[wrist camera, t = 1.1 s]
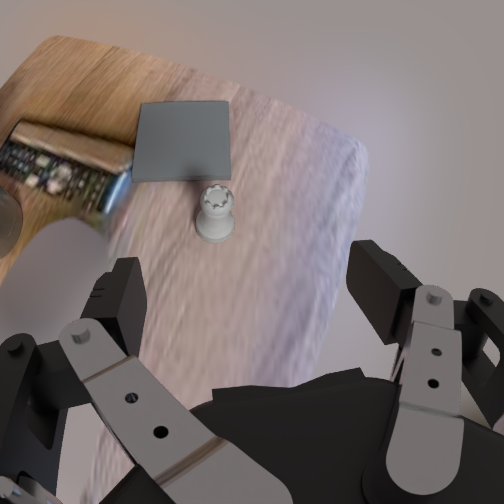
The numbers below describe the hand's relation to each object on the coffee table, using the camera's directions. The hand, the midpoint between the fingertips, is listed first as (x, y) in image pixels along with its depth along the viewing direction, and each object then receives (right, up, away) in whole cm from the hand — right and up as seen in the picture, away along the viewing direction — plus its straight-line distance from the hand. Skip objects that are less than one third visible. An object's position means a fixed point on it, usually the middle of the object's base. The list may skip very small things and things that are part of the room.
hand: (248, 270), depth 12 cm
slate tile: (-9, +15, +28) cm, 33 cm away
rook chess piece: (-4, +4, +26) cm, 26 cm away
